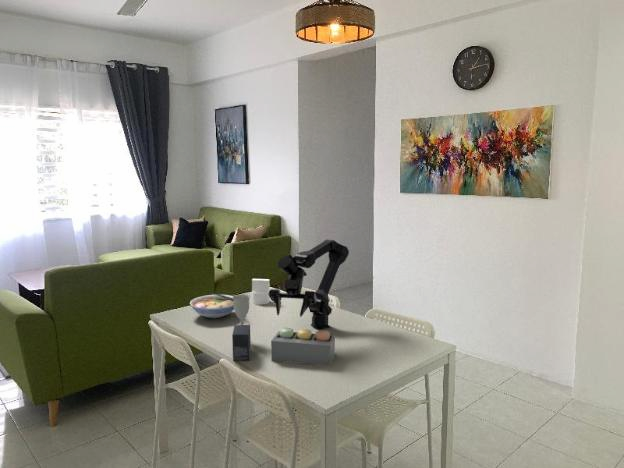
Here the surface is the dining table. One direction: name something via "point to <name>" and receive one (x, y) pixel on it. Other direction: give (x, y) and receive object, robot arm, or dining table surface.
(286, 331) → the button sage
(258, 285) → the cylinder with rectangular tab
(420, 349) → the dining table surface
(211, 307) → the ramen bowl
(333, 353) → the grey compartment box
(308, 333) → the button ochre
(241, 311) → the chalice
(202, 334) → the dining table surface
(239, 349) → the small box
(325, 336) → the button terracotta
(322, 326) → the robot arm
